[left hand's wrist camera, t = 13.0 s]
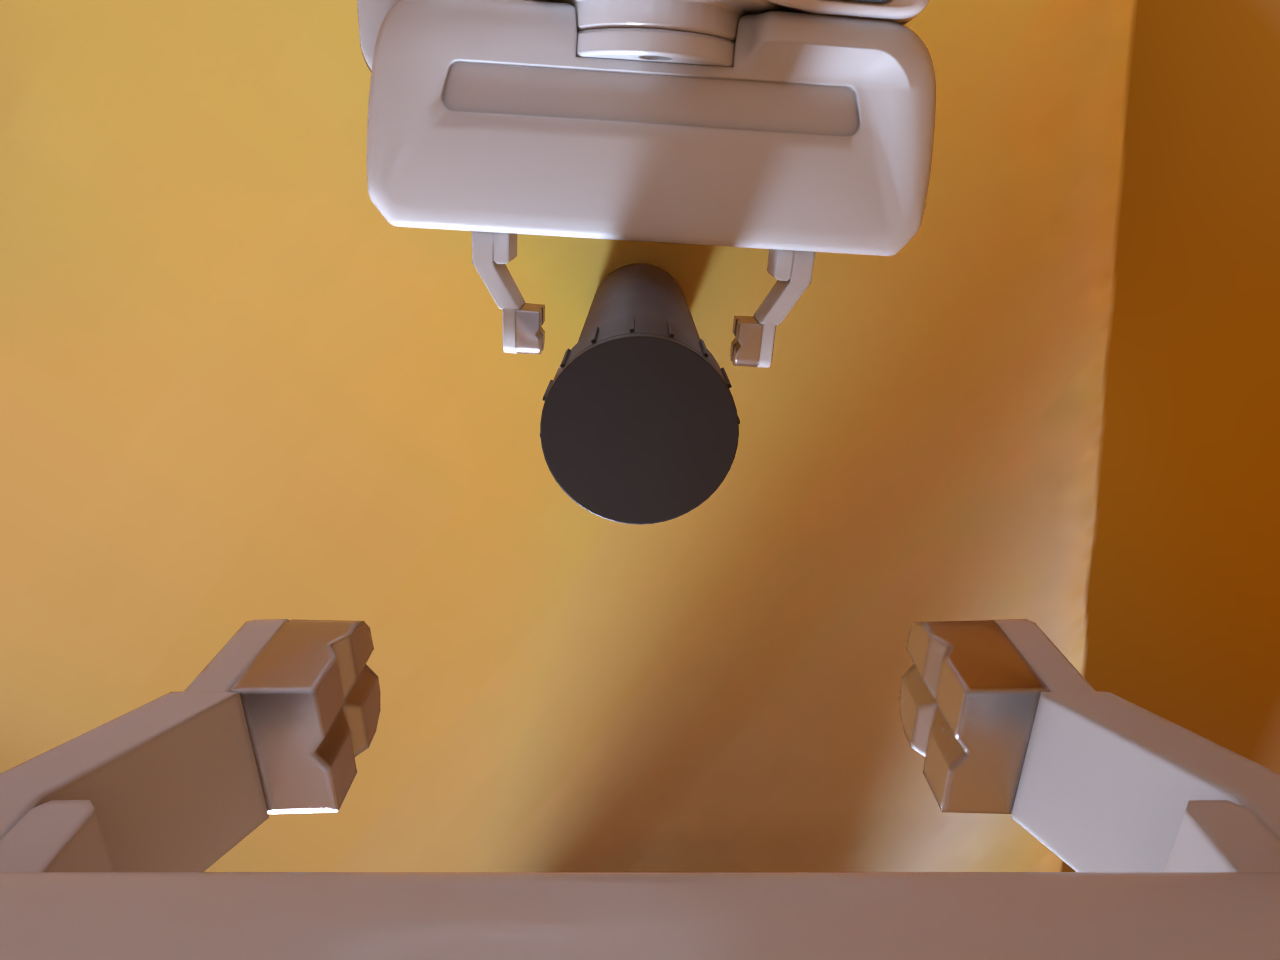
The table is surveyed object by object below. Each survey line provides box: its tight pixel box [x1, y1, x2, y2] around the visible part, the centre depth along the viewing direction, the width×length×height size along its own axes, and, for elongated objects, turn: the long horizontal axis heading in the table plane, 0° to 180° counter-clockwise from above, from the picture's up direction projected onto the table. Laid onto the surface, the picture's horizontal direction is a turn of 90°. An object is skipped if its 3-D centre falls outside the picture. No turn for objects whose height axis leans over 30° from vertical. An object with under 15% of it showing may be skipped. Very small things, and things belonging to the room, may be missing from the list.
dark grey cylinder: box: [578, 263, 700, 342], centre depth 28 cm, size 4×4×18 cm
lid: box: [540, 317, 740, 524], centre depth 20 cm, size 5×5×2 cm
